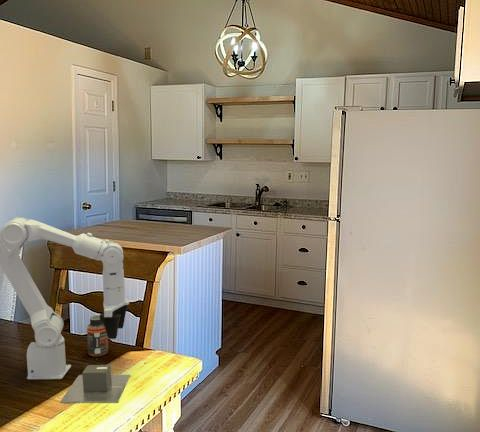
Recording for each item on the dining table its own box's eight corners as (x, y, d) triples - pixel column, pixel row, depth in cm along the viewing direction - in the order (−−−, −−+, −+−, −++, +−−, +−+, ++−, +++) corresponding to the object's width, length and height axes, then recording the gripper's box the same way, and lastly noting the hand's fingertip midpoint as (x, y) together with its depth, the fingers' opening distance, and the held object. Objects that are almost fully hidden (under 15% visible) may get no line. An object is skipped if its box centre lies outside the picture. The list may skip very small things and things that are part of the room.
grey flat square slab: (60, 402, 120) (59, 389, 120) (79, 376, 134) (78, 364, 134) (117, 402, 120) (116, 389, 120) (130, 376, 134) (129, 364, 134)
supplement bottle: (102, 358, 145) (101, 321, 144) (84, 356, 147) (82, 320, 145) (111, 350, 151) (110, 314, 150) (94, 348, 152) (92, 313, 151)
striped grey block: (83, 391, 125) (82, 372, 124) (88, 383, 129) (87, 364, 128) (107, 391, 125) (105, 371, 124) (111, 382, 129) (110, 364, 128)
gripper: (121, 294, 129) (124, 343, 131) (133, 279, 144) (135, 323, 146) (95, 294, 129) (97, 343, 131) (109, 279, 144) (111, 323, 146)
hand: (115, 333), depth 139 cm, fingers open, 7 cm apart
